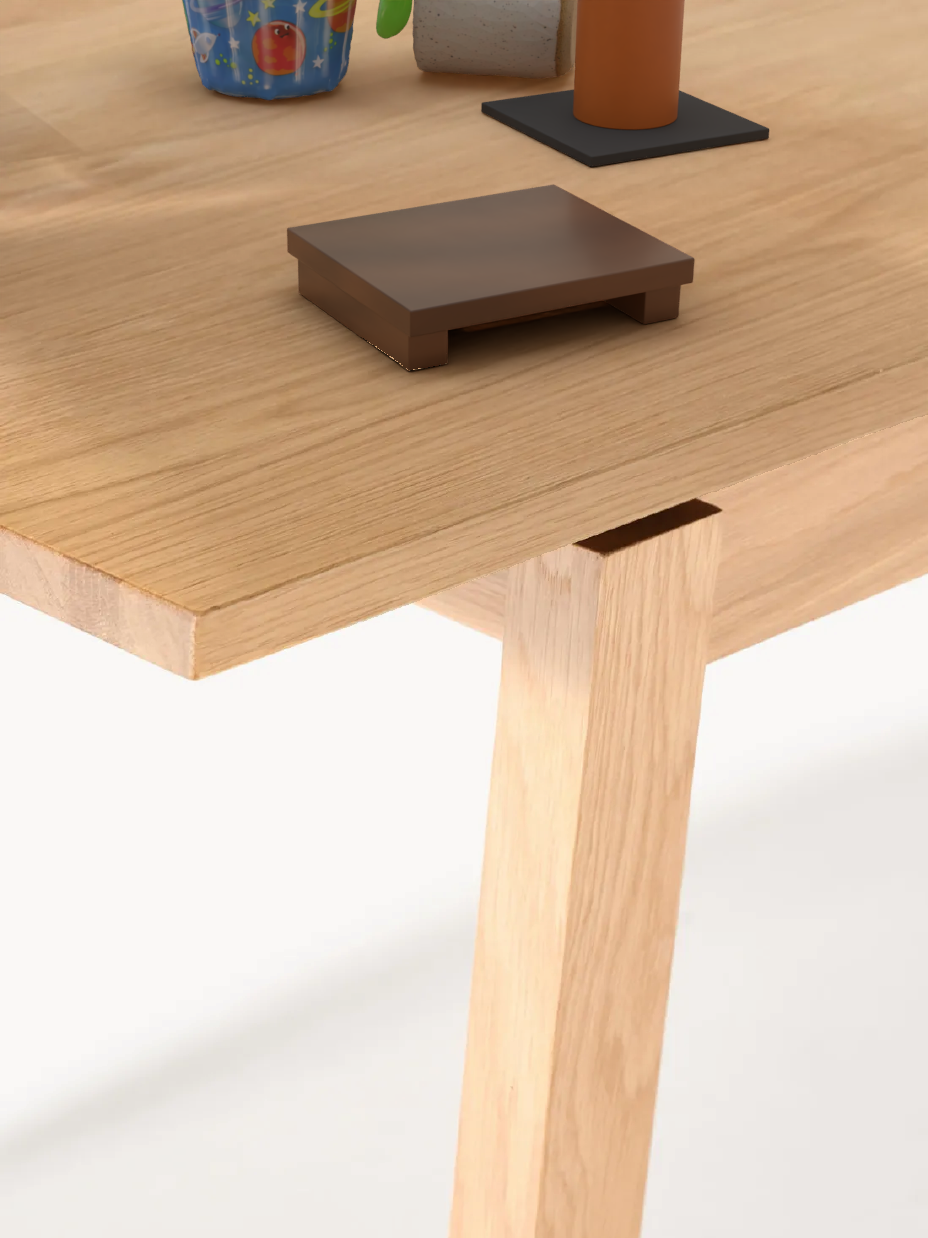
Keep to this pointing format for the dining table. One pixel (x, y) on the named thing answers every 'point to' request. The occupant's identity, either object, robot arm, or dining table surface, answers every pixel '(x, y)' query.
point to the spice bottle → (628, 63)
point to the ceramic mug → (495, 37)
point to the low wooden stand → (480, 267)
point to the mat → (601, 146)
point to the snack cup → (279, 43)
